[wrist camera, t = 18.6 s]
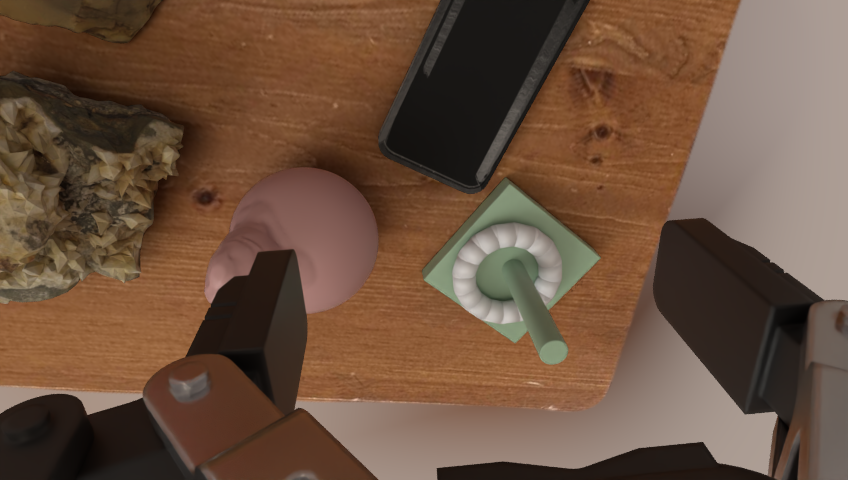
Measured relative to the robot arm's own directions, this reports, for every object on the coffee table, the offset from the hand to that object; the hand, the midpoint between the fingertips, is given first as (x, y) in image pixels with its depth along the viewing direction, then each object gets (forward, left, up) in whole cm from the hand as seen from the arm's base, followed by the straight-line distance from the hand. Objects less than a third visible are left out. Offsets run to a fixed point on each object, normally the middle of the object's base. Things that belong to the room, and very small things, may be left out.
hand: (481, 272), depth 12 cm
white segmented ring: (+6, +13, -23) cm, 27 cm away
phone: (-4, +3, -26) cm, 26 cm away
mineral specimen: (+18, -13, -26) cm, 34 cm away
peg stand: (+5, +13, -26) cm, 29 cm away
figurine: (+12, 0, -26) cm, 28 cm away
